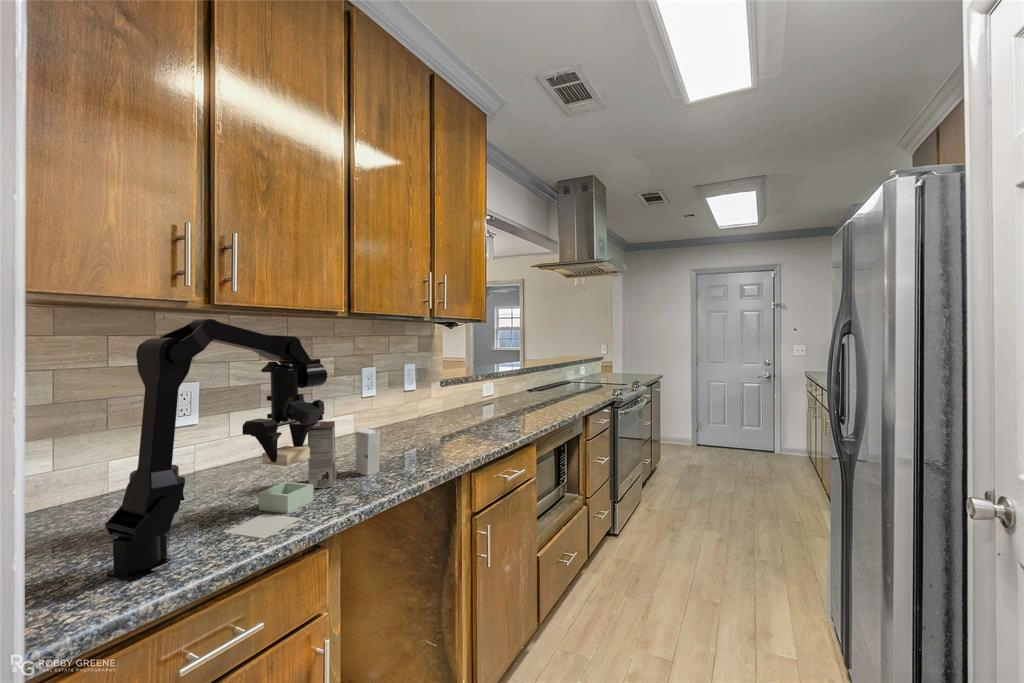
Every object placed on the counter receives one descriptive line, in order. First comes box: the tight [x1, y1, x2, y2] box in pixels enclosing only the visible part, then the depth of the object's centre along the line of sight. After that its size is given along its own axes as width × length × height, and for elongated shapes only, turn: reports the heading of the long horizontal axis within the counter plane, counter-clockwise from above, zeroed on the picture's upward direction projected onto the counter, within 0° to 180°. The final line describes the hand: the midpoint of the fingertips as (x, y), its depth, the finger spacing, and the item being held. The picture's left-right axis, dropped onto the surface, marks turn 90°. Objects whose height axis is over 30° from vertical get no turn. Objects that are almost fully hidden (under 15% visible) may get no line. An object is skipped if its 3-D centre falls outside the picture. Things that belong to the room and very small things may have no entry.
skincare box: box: [355, 428, 381, 477], centre depth 134 cm, size 6×4×12 cm
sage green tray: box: [258, 481, 314, 514], centre depth 107 cm, size 8×8×4 cm
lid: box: [261, 445, 310, 467], centre depth 106 cm, size 7×7×2 cm
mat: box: [224, 513, 302, 539], centre depth 96 cm, size 10×10×1 cm
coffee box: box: [307, 420, 337, 490], centre depth 124 cm, size 9×6×16 cm
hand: (286, 457), depth 107 cm, fingers closed on lid, 7 cm apart
